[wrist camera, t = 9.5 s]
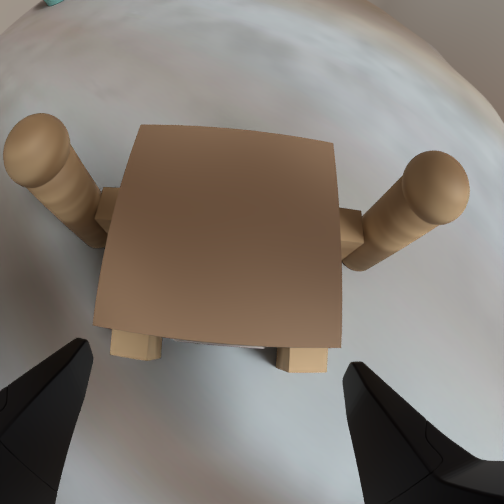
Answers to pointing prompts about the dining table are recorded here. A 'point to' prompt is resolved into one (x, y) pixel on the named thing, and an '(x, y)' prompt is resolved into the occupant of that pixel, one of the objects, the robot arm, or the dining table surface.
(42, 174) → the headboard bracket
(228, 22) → the dining table surface
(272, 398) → the dining table surface
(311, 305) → the block
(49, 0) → the cupcake
